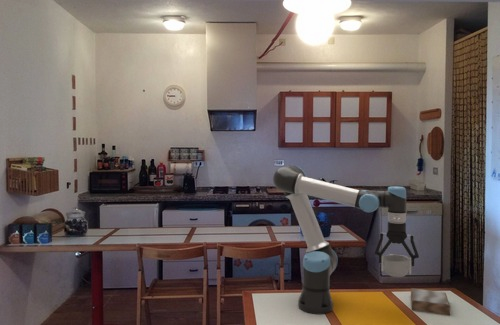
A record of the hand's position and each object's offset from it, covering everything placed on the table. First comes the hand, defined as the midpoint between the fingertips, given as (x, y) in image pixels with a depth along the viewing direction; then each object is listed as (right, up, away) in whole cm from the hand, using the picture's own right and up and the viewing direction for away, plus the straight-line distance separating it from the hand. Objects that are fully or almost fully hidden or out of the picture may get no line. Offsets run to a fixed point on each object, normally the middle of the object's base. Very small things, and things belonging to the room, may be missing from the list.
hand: (396, 271), depth 180 cm
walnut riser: (+17, -17, +5) cm, 24 cm away
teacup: (0, -1, 0) cm, 1 cm away
